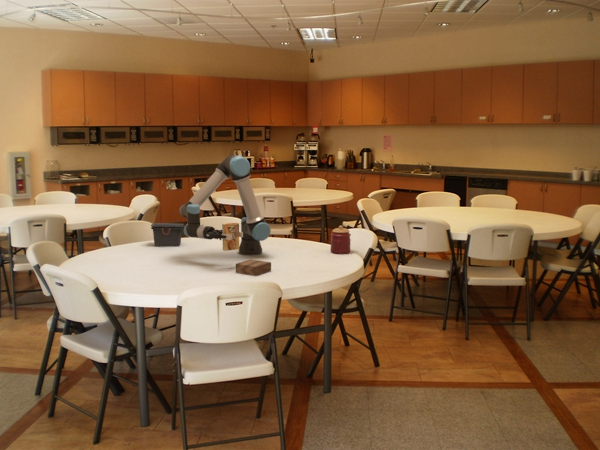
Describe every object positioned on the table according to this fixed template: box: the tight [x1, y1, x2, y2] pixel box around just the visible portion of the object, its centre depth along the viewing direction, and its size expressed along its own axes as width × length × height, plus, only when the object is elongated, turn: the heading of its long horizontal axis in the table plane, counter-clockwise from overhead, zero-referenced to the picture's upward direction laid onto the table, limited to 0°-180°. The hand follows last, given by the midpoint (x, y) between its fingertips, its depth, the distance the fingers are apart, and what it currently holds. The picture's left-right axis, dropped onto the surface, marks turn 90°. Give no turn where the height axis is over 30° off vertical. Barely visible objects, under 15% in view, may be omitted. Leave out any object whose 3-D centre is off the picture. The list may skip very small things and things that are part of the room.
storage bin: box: [150, 222, 185, 247], centre depth 423 cm, size 21×16×14 cm
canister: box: [330, 225, 352, 255], centre depth 405 cm, size 13×13×18 cm
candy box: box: [221, 222, 240, 252], centre depth 355 cm, size 9×4×15 cm, turn 116°
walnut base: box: [235, 259, 272, 277], centre depth 349 cm, size 14×14×5 cm
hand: (237, 236), depth 353 cm, fingers closed on candy box, 9 cm apart
